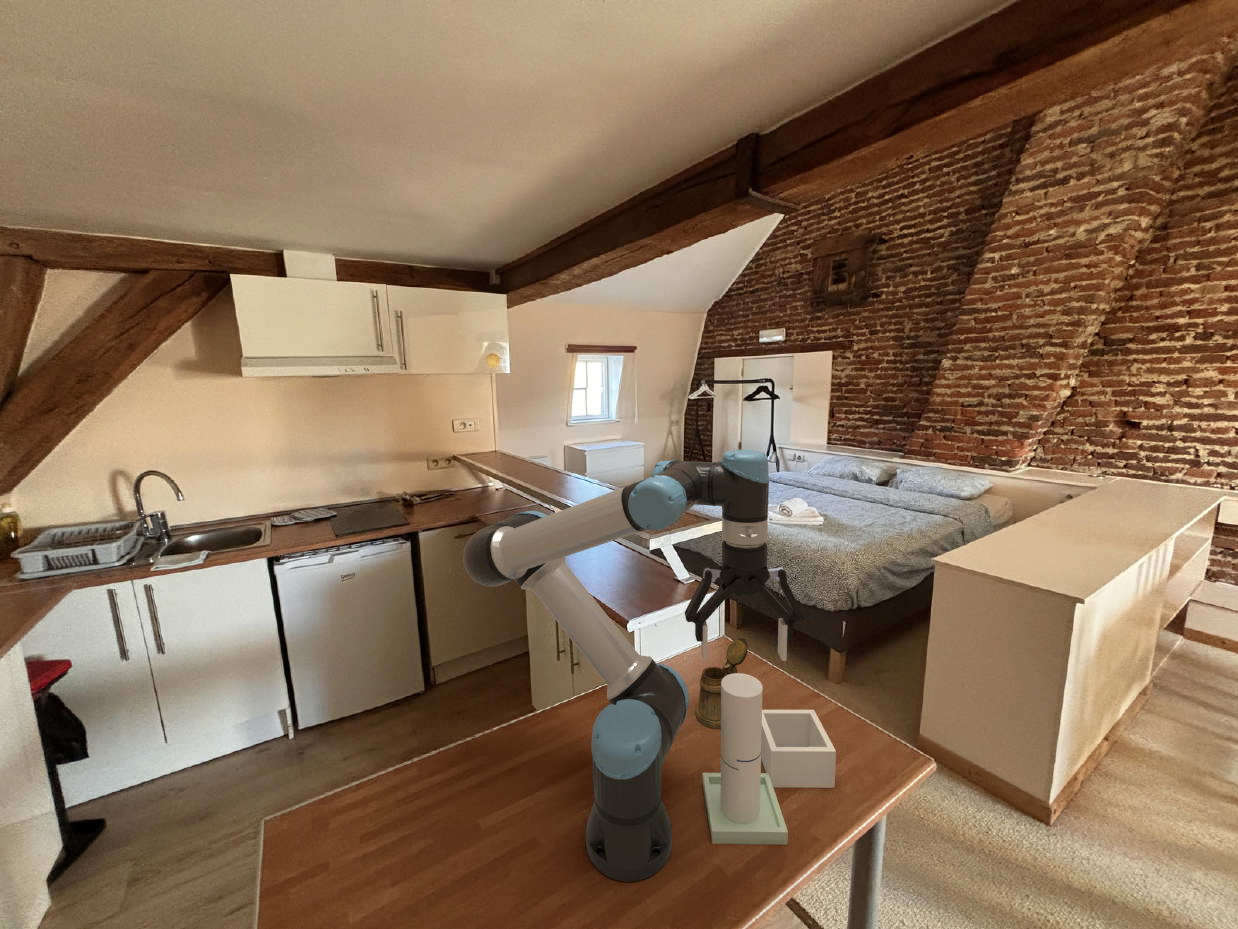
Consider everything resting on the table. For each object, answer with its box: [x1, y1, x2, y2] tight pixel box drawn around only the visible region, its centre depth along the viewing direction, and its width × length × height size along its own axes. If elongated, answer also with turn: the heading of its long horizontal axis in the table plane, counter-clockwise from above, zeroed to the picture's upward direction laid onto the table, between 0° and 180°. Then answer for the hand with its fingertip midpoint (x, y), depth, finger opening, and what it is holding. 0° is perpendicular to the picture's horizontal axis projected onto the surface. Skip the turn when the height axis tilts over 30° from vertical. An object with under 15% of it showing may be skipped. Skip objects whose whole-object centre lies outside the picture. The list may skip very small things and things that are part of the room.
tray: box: [702, 772, 789, 846], centre depth 92 cm, size 13×13×2 cm
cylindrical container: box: [720, 672, 763, 824], centre depth 90 cm, size 7×7×25 cm
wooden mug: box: [695, 637, 748, 730], centre depth 118 cm, size 9×14×18 cm, turn 114°
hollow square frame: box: [761, 709, 837, 789], centre depth 102 cm, size 12×12×8 cm
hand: (743, 657), depth 87 cm, fingers open, 13 cm apart
